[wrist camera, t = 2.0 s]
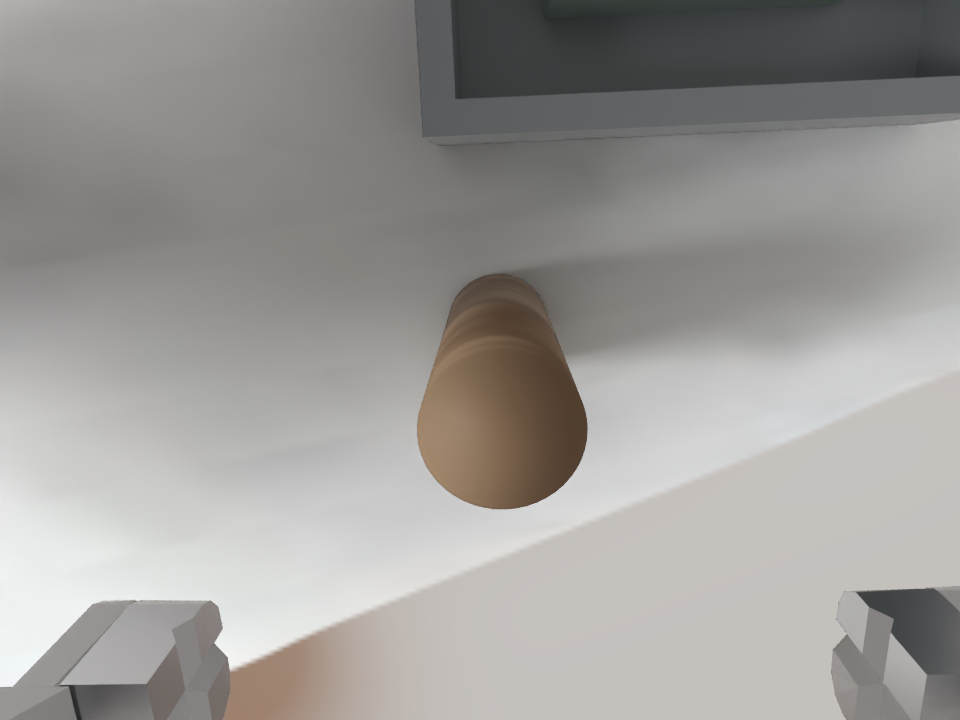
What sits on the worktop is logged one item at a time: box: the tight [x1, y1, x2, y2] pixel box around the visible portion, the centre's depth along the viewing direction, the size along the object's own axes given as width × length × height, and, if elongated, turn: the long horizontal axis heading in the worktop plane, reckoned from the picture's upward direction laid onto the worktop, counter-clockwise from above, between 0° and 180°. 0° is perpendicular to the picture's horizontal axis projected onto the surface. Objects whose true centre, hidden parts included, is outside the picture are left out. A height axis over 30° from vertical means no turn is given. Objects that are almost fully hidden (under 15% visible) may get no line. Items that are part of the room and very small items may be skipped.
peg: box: [417, 274, 587, 509], centre depth 21 cm, size 4×4×12 cm
